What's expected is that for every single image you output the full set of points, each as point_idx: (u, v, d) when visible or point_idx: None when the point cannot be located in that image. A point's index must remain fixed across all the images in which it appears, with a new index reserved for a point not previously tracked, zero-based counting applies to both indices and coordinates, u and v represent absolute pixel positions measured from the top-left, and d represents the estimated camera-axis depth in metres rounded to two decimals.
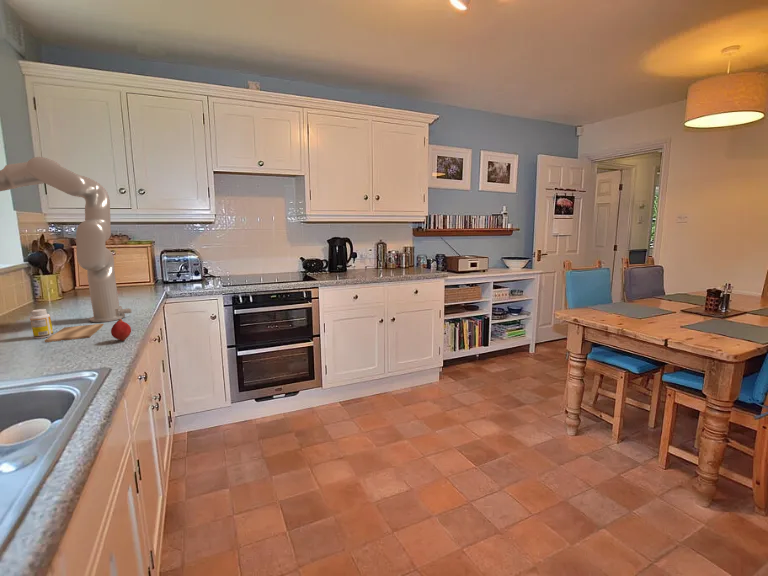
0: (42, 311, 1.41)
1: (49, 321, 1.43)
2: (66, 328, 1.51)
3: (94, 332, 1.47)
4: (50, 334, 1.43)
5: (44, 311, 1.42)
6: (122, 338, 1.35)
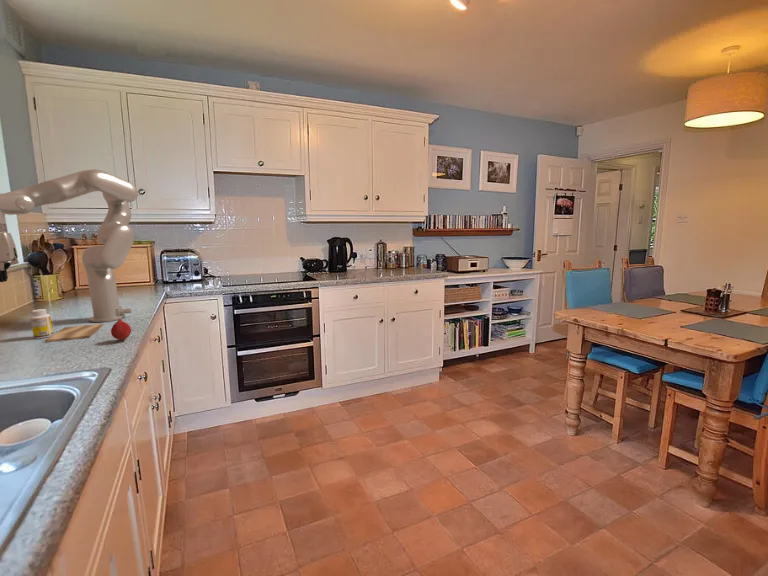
0: (42, 311, 1.41)
1: (49, 321, 1.43)
2: (66, 328, 1.51)
3: (94, 332, 1.47)
4: (50, 334, 1.43)
5: (44, 311, 1.42)
6: (122, 338, 1.35)
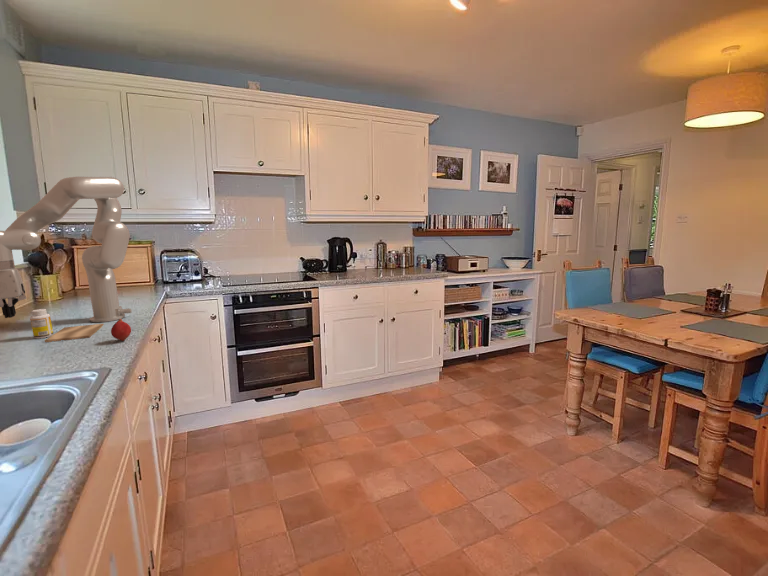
0: (42, 311, 1.41)
1: (49, 321, 1.43)
2: (66, 328, 1.51)
3: (94, 332, 1.47)
4: (50, 334, 1.43)
5: (44, 311, 1.42)
6: (122, 338, 1.35)
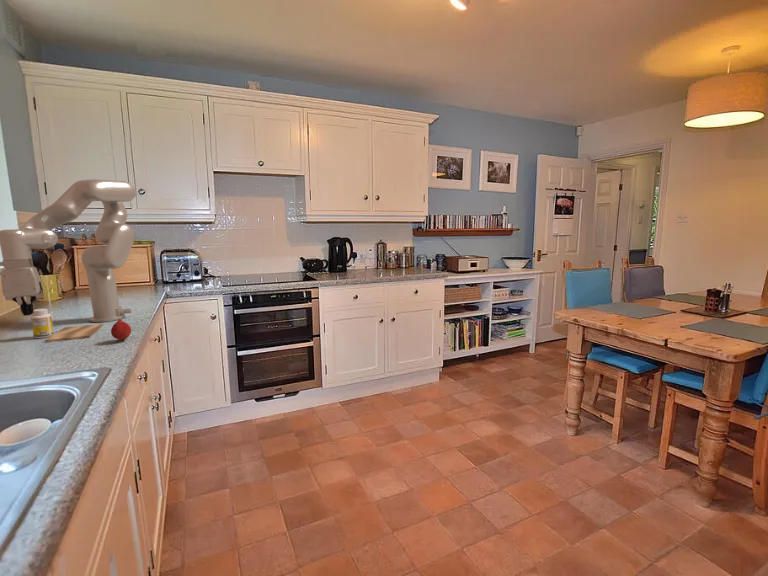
0: (43, 311, 1.41)
1: (50, 321, 1.43)
2: (66, 328, 1.51)
3: (94, 332, 1.47)
4: (50, 334, 1.43)
5: (45, 311, 1.42)
6: (122, 338, 1.35)
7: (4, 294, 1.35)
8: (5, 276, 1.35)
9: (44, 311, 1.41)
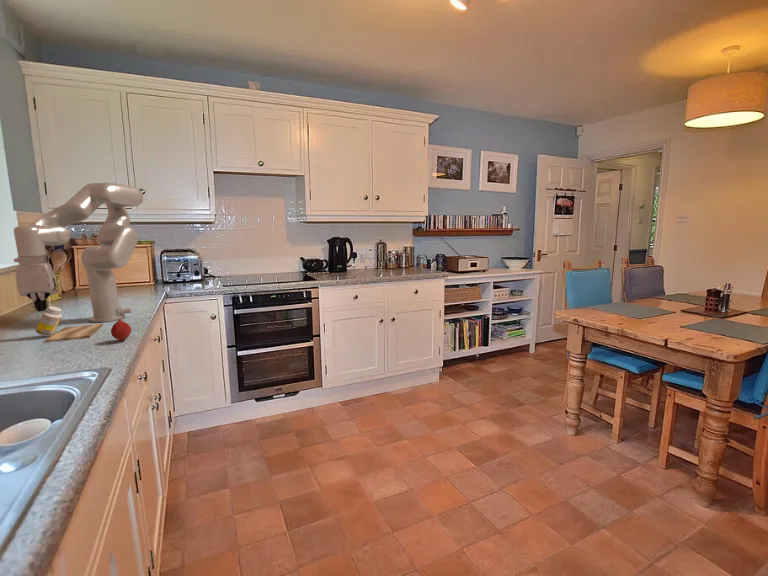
0: (58, 311, 1.43)
1: (58, 322, 1.44)
2: (66, 328, 1.51)
3: (94, 332, 1.47)
4: (51, 334, 1.43)
5: (59, 312, 1.43)
6: (122, 338, 1.35)
7: (19, 290, 1.36)
8: (20, 272, 1.36)
9: (58, 312, 1.43)
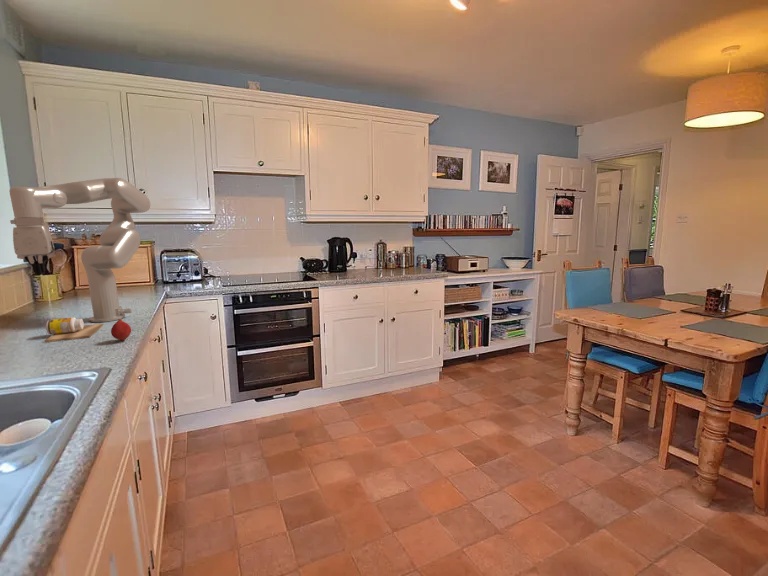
0: (80, 328, 1.46)
1: None
2: None
3: (94, 332, 1.47)
4: None
5: None
6: (122, 338, 1.35)
7: (16, 252, 1.35)
8: (17, 234, 1.34)
9: None
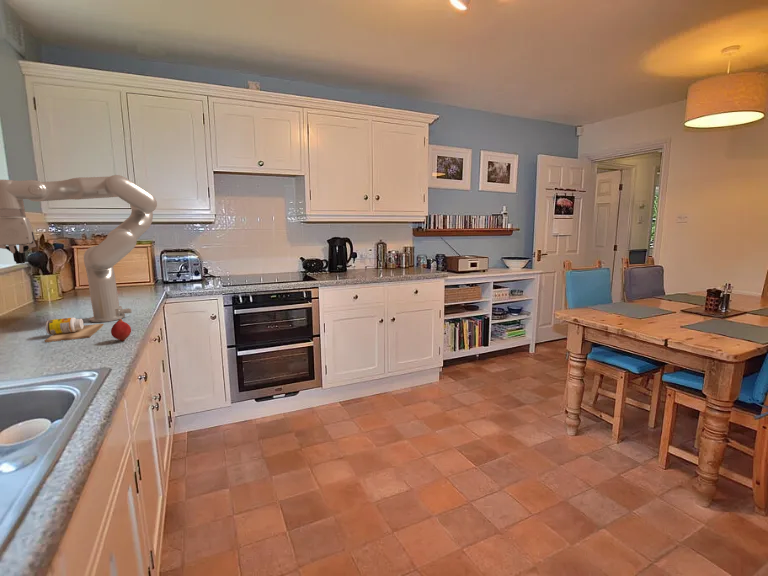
0: None
1: None
2: None
3: (94, 332, 1.47)
4: None
5: None
6: (122, 338, 1.35)
7: None
8: None
9: None
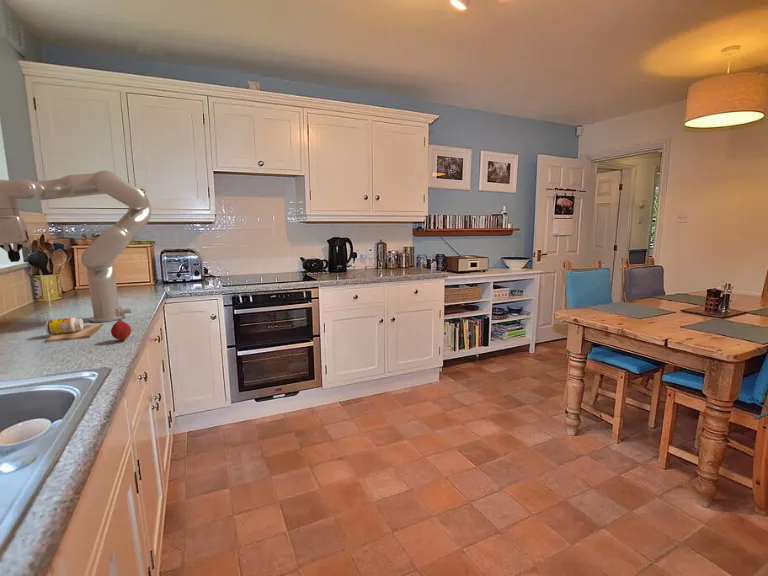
0: None
1: None
2: None
3: (94, 332, 1.47)
4: None
5: None
6: (122, 338, 1.35)
7: None
8: None
9: None
